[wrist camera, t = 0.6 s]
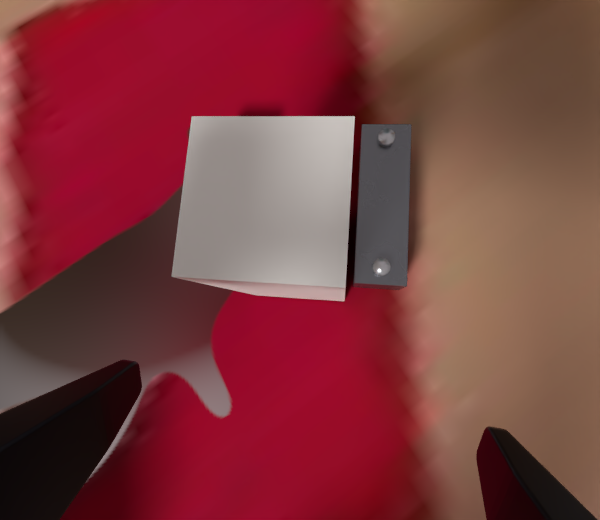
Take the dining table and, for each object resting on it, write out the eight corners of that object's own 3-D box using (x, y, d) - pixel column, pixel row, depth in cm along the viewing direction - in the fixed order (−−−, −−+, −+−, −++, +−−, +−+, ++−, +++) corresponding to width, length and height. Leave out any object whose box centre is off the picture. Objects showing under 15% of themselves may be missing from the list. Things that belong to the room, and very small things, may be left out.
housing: (398, 289, 23) (408, 285, 20) (210, 277, 25) (189, 272, 21) (403, 147, 24) (412, 120, 21) (224, 145, 26) (207, 120, 23)
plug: (344, 301, 23) (345, 287, 11) (256, 295, 24) (171, 276, 12) (350, 196, 24) (356, 84, 12) (265, 194, 25) (195, 86, 13)
